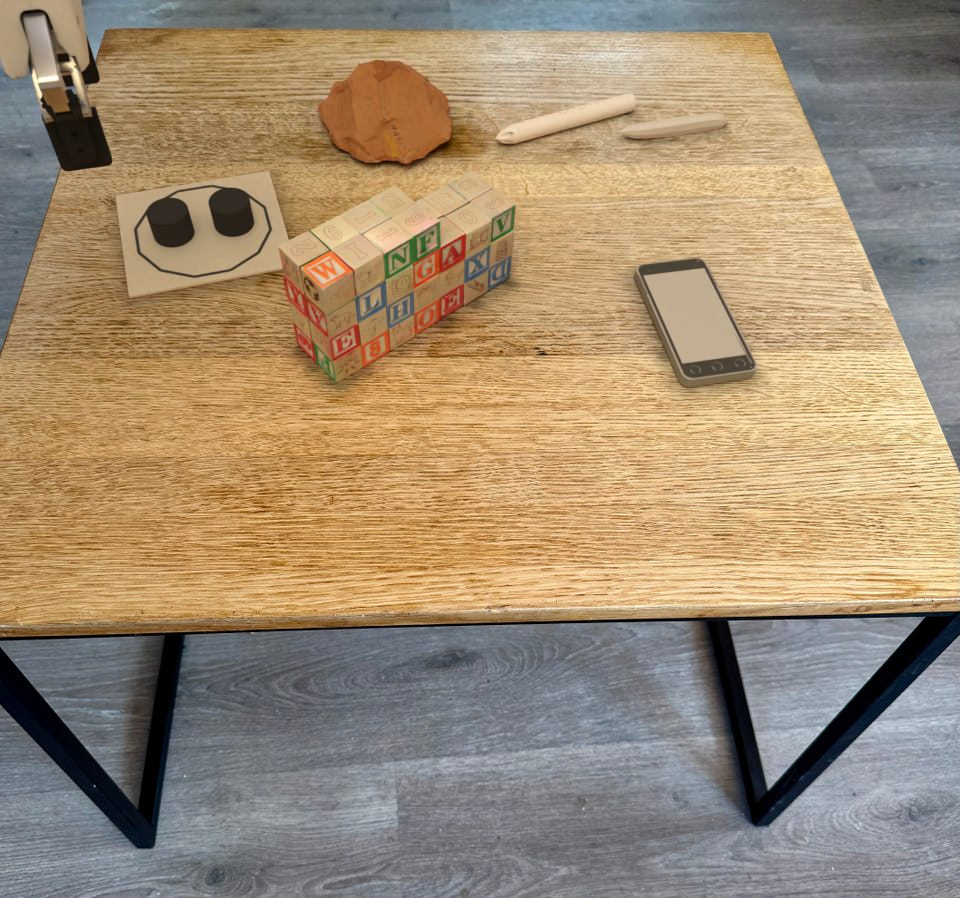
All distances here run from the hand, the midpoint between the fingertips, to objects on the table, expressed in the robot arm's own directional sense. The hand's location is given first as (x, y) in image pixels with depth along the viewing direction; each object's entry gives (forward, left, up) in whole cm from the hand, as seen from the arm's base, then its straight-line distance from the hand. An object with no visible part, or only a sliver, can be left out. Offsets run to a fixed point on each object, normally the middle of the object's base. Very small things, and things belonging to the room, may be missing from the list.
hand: (82, 123), depth 60 cm
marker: (+47, +22, -24) cm, 57 cm away
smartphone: (+48, -10, -24) cm, 55 cm away
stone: (+27, +27, -24) cm, 45 cm away
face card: (+5, +15, -24) cm, 29 cm away
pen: (+59, +18, -24) cm, 66 cm away
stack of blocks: (+22, -1, -24) cm, 33 cm away
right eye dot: (+8, +15, -24) cm, 29 cm away
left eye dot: (+2, +15, -24) cm, 28 cm away
